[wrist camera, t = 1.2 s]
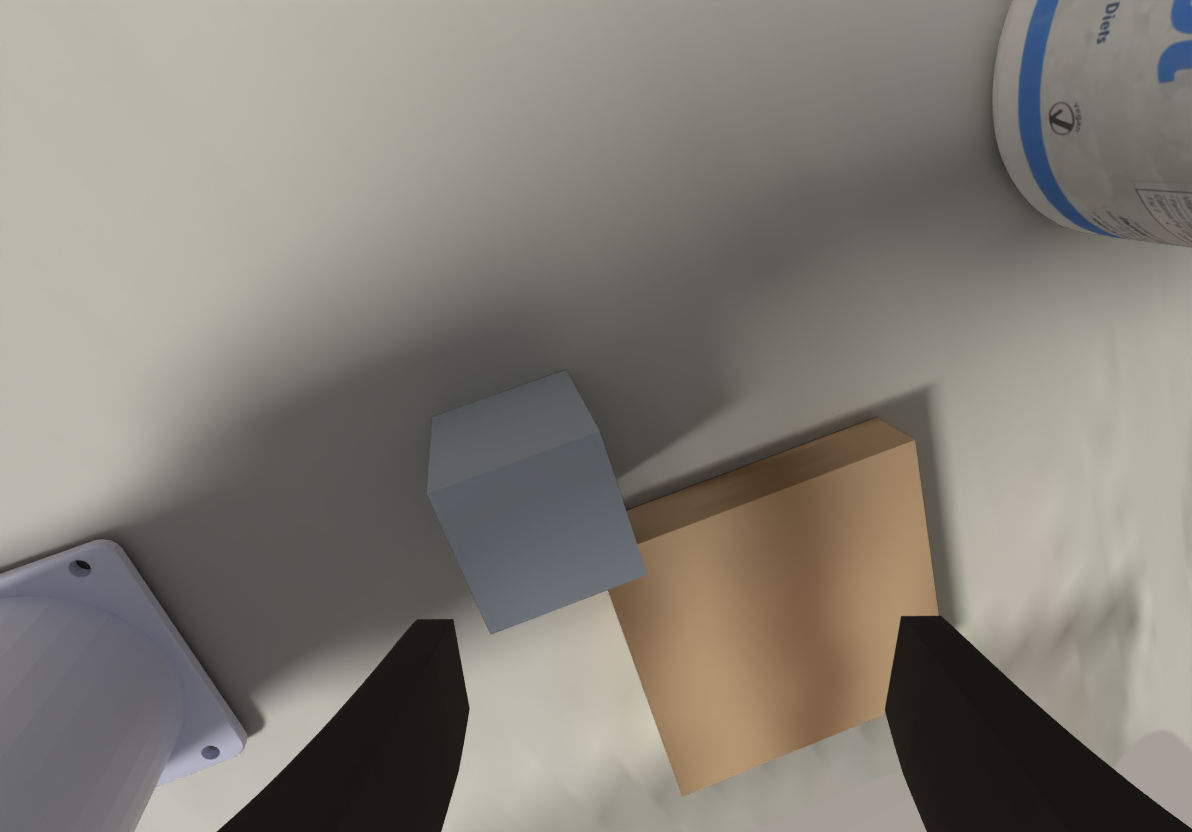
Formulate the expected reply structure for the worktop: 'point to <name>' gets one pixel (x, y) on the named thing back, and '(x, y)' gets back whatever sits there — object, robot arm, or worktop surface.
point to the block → (530, 501)
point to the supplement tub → (1099, 114)
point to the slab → (777, 599)
